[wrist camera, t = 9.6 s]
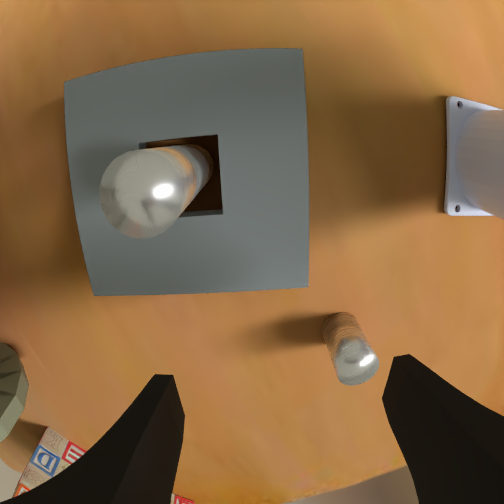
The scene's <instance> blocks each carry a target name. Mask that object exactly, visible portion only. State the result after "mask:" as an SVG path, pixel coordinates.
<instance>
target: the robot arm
mask: <svg viewBox="0 0 504 504" xmlns="http://www.w3.org/2000/svg"><path fill="white" fill-rule="evenodd" d="M457 102H458V103H459V105H460V106H459V107H458V105H457ZM446 114H447V170H446V189H445V203H444V211H445V213H446V214H448V215H450V216H497V217H499V218H501V219H503V220H504V110H502V109H499V108H496V107H492V106H489V105H486V104H482V103H478V102H475V101H471V100H467V99H463V98H459V97H455V96H450V97H448V98H447V99H446ZM456 205H457V210H456V211H455V207H456ZM382 400H383V404H384V408H385V411H386V414H387V418H388V421H389V424H390V426H391V429H392V431H393V433H394V435H395V438H396V440H397V442H398V444H399V447H400V449H401V451H402V453H403V456H404V458H405V460H406V463H407V465H408V467H409V470H410V472H411V475H412V478H413V481H414V484H415V489H416V492H417V496H418V500H419V504H504V416H502V415H500V414H498V413H496V412H494V411H492V410H490V409H488V408H486V407H485V406H483V405H481V404H479V403H478V402H476V401H475V400H473V399H472V398H470V397H468V396H467V395H465V394H464V393H462V392H461V391H459V390H458V389H456V388H455V387H454V386H452V385H451V384H449V383H448V382H447V381H445V380H444V379H443V378H441V377H440V376H439V375H437V374H436V373H435V372H433V371H432V370H431V369H429V368H428V367H427V366H425V365H424V364H422V363H421V362H420V361H418V360H417V359H416V358H414V357H413V356H411V355H410V354H407V355H402V356H397V357H394V358H393V362H392V366H391V369H390V373H389V376H388V380H387V383H386V387H385V390H384V393H383V397H382ZM184 420H185V414H184V411H183V408H182V404H181V401H180V398H179V394H178V391H177V387H176V384H175V380H174V376H173V375H159V374H155V375H154V376H153V377H152V378H151V380H150V381H149V382H148V383H147V385H146V386H145V387H144V389H143V390H142V391H141V393H140V394H139V395H138V396H137V398H136V399H135V400H134V401H133V403H132V404H131V405H130V406H129V407H128V409H127V410H126V411H125V412H124V413H123V415H122V416H121V417H120V418H119V419H118V420H117V422H116V423H115V424H114V425H113V426H112V427H111V428H110V429H109V430H108V431H107V432H106V433H105V434H104V435H103V437H102V438H101V439H100V440H99V441H98V442H97V443H95V444H94V445H93V446H92V447H91V448H90V449H89V450H88V451H87V452H86V453H84V454H83V455H82V456H81V457H80V458H79V459H77V460H76V461H75V462H73V463H72V464H71V465H70V466H68V467H67V468H66V469H64V470H63V471H61V472H60V473H58V474H57V475H56V476H54V477H52V478H51V479H49V480H47V481H46V482H44V483H42V484H40V485H39V486H37V487H35V488H33V489H31V490H29V491H27V492H25V493H23V494H21V495H18V496H16V497H13V498H11V499H8V500H6V501H3V502H0V504H170V503H171V496H172V491H173V486H174V481H175V476H176V472H177V467H178V462H179V457H180V452H181V448H182V443H183V433H184Z"/></svg>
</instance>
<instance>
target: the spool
mask: <svg viewBox="0 0 504 504" xmlns="http://www.w3.org/2000/svg"><path fill="white" fill-rule="evenodd" d="M28 386H29V383H28V380H27V377H26V374H25V370H24V367H23V365H22V363H21V361H20V358H19V356H18V354H17V353H16V352H15V351H14V350H12V349H11V348H10V347H9V346H8V345H6V344H5V343H0V442H1V441H2V440H3V439H5V438H6V437H7V436H8V435H9V433H10V432H11V430H12V428H13V427H14V425H15V423H16V422H17V420H18V418H19V417H20V415H21V413H22V412H23V410H24V407H25V402H26V396H27V391H28Z"/></svg>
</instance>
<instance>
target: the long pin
mask: <svg viewBox="0 0 504 504" xmlns="http://www.w3.org/2000/svg"><path fill="white" fill-rule="evenodd" d="M212 173H213V160H212V158H211V156H210V154H209V153H208V152H207V151H206V150H205V149H204V148H202V147H201V146H198V145H193V144H189V145H177V146H167V147H158V148H149V149H141V150H134V151H129V152H126V153H124V154H122V155H120V156H118V157H117V158H116V159H114V160H113V161H112V162H111V163H110V165H109V166H108V167H107V169H106V170H105V172H104V174H103V176H102V179H101V183H100V189H99V197H100V204H101V207H102V210H103V213H104V215H105V217H106V218H107V220H108V221H109V222H110V224H111V225H112V226H113V227H114V228H115V229H117V230H118V231H119V232H121V233H123V234H124V235H127V236H129V237H133V238H139V239H145V238H151V237H155V236H157V235H160V234H161V233H163V232H165V231H166V230H167V229H168V228H170V227H171V225H172V224H173V223H174V222H175V221H176V220H177V218H178V217H179V216H180V215H181V213H182V212H183V211H184V210H185V209H186V207H187V206H188V205H189V204H190V202H191V201H192V200H193V199H194V198H195V197H196V195H197V194H198V193H199V192H200V191H201V189H202V188H203V187H204V186H205V185H206V184H207V182H208V181H209V180H210V178H211V176H212Z"/></svg>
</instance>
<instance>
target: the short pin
mask: <svg viewBox="0 0 504 504" xmlns="http://www.w3.org/2000/svg"><path fill="white" fill-rule="evenodd" d="M322 335H323V338H324V340H325V343H326V346H327V348H328V351H329V354H330V357H331V360H332V362H333V365H334V368H335V371H336V373H337V376H338V379H339V381H340V382H342V383H343V384H345V385H358V384H361V383H364V382H366V381H367V380H369V379H370V378H371V377H372V376H373V375H374V374H375V373H376V371H377V370H378V367H379V360H378V358H377V356H376V354H375V352H374V351H373V349H372V347H371V345H370V343H369V341H368V340H367V338H366V336H365V334H364V332H363V331H362V329H361V327H360V325H359V323H358V322H357V320H356V318H355V317H354V316H353V315H352V314H350V313H345V312H341V313H337V314H334V315H332V316H331V317H329V318H328V319H327V320H326V321H325V323H324V325H323V327H322Z"/></svg>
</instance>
